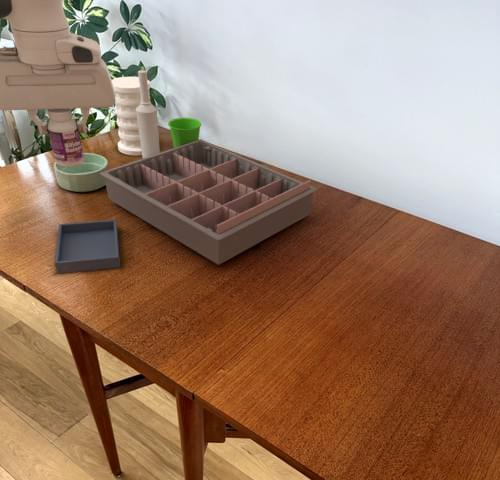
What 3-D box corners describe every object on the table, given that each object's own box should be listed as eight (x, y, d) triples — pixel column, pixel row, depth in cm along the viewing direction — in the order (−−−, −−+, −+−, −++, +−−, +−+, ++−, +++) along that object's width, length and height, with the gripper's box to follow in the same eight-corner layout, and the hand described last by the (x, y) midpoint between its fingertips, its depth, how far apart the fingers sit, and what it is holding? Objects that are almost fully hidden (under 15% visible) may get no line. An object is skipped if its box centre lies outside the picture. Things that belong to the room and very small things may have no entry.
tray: (57, 273, 92) (54, 263, 91) (61, 233, 103) (58, 223, 101) (120, 267, 95) (118, 257, 93) (117, 229, 105) (116, 219, 104)
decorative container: (110, 147, 139) (99, 81, 126) (140, 137, 145) (132, 73, 133) (135, 158, 133) (126, 91, 121) (165, 148, 140) (159, 82, 128)
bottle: (157, 178, 125) (146, 75, 108) (140, 174, 126) (127, 72, 109) (165, 170, 129) (157, 70, 112) (149, 167, 130) (137, 67, 113)
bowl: (56, 195, 116) (51, 176, 112) (59, 172, 125) (55, 154, 122) (111, 191, 118) (108, 172, 115) (110, 169, 128) (107, 151, 124)
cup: (207, 159, 135) (206, 120, 128) (195, 171, 129) (194, 131, 121) (178, 154, 137) (175, 115, 129) (165, 166, 131) (162, 126, 123)
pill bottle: (73, 170, 87) (62, 116, 81) (50, 164, 89) (36, 111, 82) (90, 159, 91) (80, 107, 85) (67, 154, 92) (55, 102, 86)
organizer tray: (201, 167, 131) (200, 131, 124) (313, 219, 112) (319, 180, 105) (105, 204, 114) (97, 164, 107) (218, 273, 94) (218, 230, 88)
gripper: (-27, 52, 72) (1, 142, 82) (108, 51, 76) (120, 136, 86) (-20, 43, 77) (6, 129, 86) (107, 42, 81) (119, 124, 90)
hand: (64, 132), depth 86 cm, fingers closed on pill bottle, 5 cm apart
